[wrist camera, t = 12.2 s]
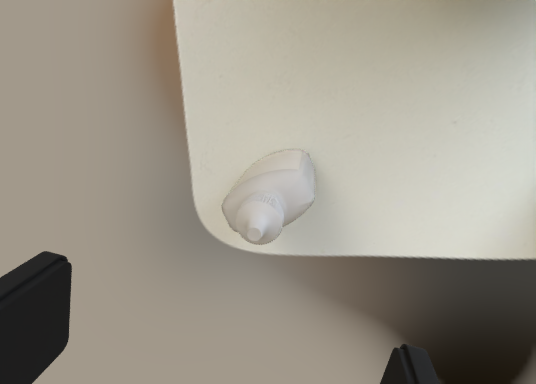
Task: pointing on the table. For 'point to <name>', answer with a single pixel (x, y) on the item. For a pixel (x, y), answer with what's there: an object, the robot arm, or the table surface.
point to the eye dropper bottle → (270, 195)
